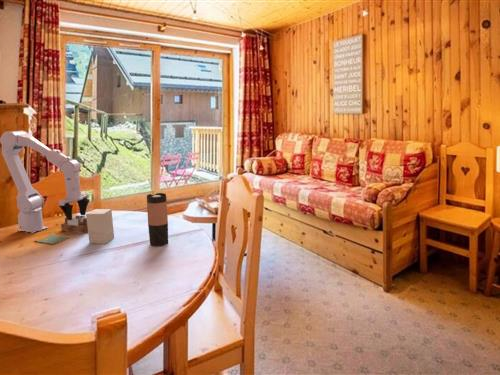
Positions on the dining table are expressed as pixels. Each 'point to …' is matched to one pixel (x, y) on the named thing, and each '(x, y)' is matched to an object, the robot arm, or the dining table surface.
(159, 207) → the travel mug
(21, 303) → the dining table surface
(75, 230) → the plane body
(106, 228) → the supplement box
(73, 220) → the lever cap
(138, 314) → the dining table surface
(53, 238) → the felt mat
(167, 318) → the dining table surface
